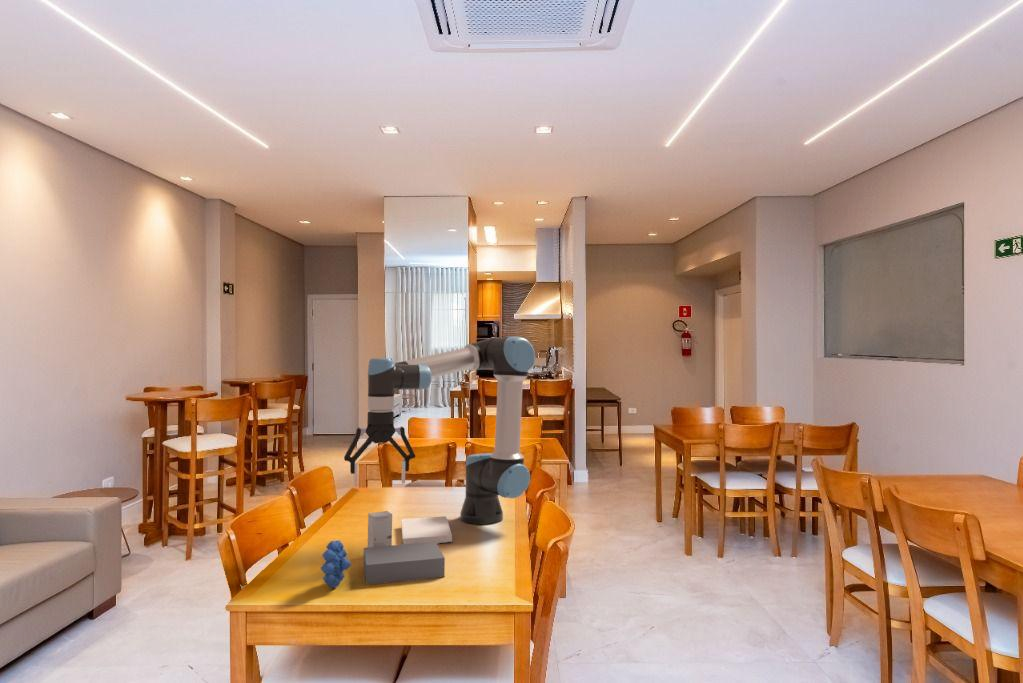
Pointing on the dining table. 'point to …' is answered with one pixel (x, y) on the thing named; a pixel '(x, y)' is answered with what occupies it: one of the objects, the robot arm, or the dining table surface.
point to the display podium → (403, 562)
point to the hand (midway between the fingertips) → (379, 483)
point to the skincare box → (379, 529)
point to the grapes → (334, 563)
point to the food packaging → (426, 530)
